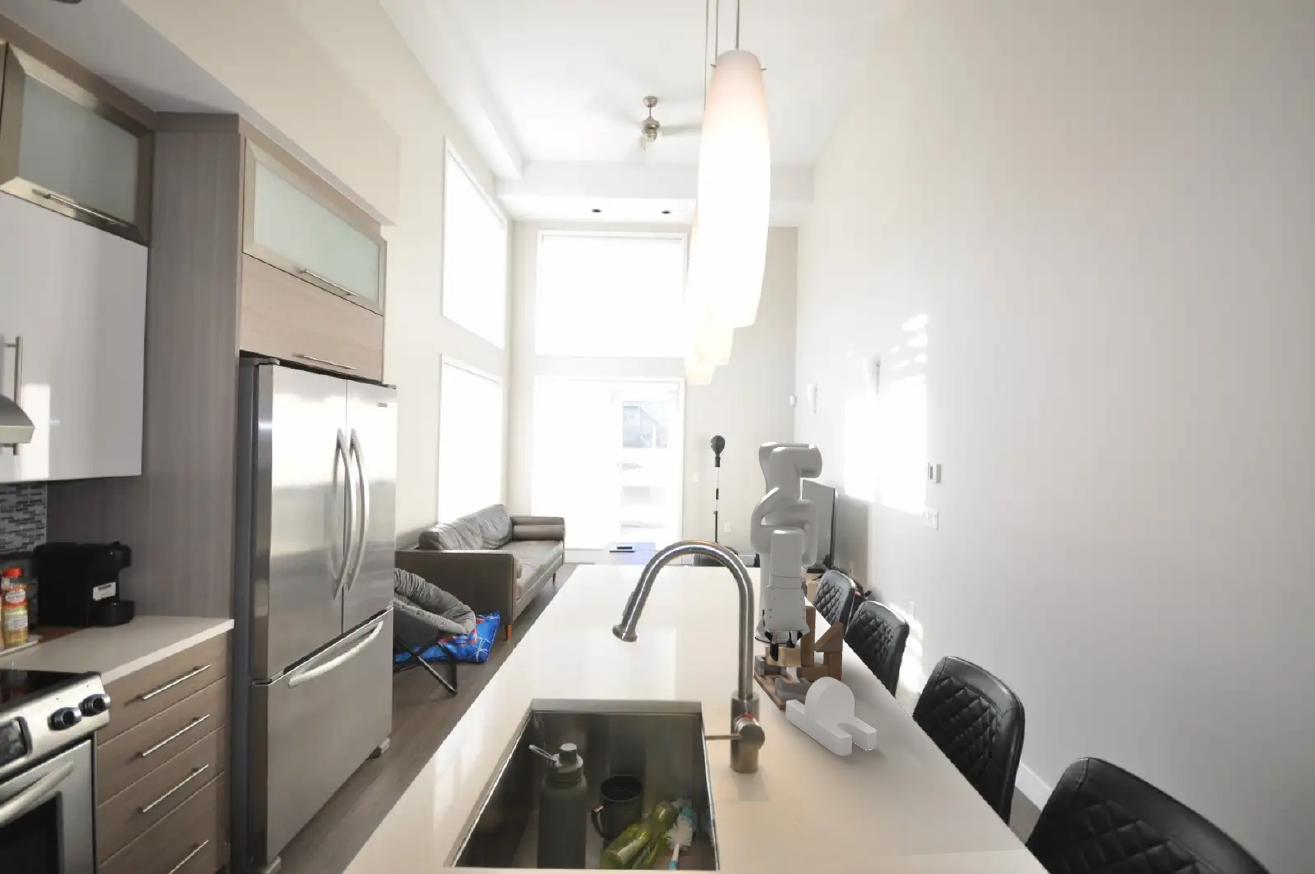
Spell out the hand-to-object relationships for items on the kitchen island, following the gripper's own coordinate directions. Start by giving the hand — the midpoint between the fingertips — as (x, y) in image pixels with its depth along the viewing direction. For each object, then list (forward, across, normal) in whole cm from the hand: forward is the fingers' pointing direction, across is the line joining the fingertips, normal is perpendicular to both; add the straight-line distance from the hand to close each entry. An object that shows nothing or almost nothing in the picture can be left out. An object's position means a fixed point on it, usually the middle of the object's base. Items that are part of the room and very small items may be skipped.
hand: (781, 658), depth 149 cm
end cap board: (+7, 0, 0) cm, 7 cm away
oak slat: (+1, 0, +1) cm, 2 cm away
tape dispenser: (+8, -2, +23) cm, 24 cm away
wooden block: (+7, -12, -6) cm, 15 cm away
